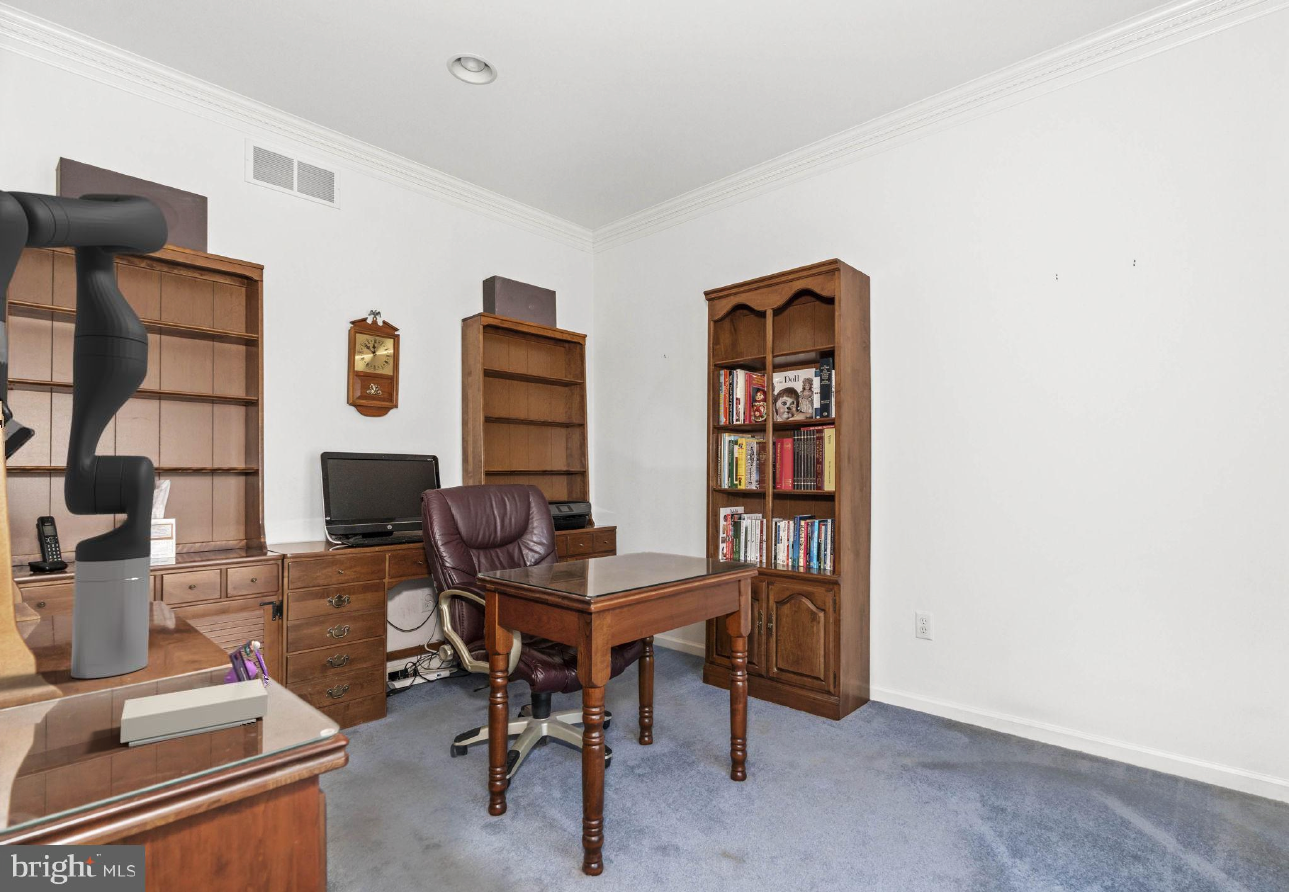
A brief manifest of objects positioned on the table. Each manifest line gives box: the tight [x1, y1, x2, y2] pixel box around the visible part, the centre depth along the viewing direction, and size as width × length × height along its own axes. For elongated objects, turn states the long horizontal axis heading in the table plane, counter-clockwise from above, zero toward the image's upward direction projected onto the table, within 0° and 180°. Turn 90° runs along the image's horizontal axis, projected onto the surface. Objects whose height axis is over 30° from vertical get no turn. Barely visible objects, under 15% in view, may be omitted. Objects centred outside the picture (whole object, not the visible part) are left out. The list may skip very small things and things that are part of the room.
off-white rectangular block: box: [120, 678, 268, 744], centre depth 79 cm, size 8×3×14 cm
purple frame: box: [223, 638, 270, 684], centre depth 90 cm, size 7×5×9 cm
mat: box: [128, 718, 257, 748], centre depth 79 cm, size 9×12×1 cm
